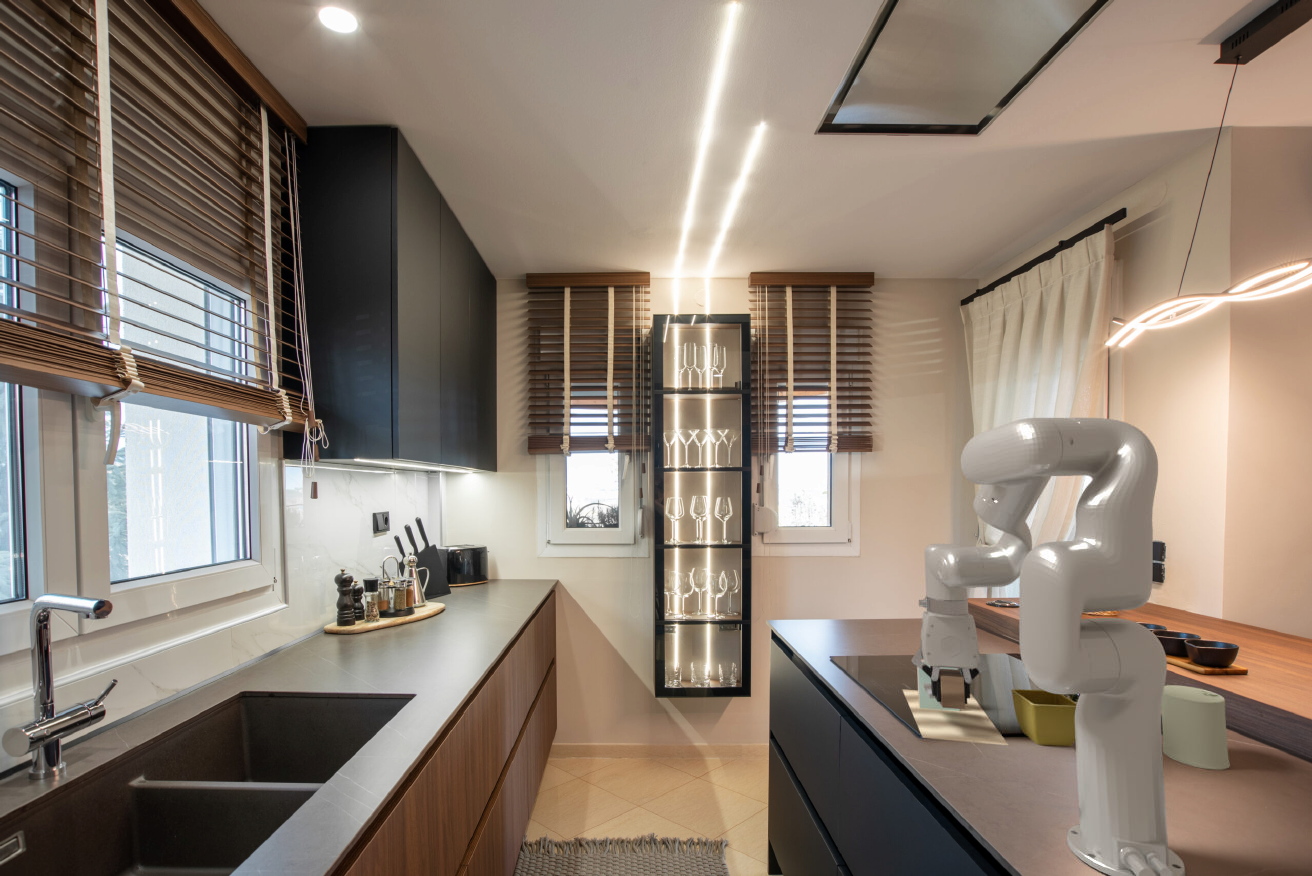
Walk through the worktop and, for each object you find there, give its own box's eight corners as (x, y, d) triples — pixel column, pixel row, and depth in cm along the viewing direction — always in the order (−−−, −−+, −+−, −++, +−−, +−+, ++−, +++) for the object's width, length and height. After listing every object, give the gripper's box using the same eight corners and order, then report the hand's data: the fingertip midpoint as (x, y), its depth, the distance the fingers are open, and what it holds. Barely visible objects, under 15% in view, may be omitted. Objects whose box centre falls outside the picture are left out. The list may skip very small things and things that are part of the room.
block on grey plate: (973, 709, 118) (972, 678, 118) (934, 706, 120) (933, 675, 120) (959, 689, 130) (957, 660, 130) (923, 686, 131) (922, 658, 132)
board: (1009, 751, 115) (1008, 745, 115) (922, 743, 118) (922, 737, 119) (971, 699, 142) (971, 694, 142) (902, 694, 146) (902, 689, 146)
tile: (959, 711, 132) (957, 663, 132) (919, 707, 134) (918, 661, 134) (958, 708, 133) (956, 661, 134) (918, 705, 135) (916, 659, 136)
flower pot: (1059, 736, 122) (1056, 689, 122) (1085, 756, 113) (1082, 705, 113) (1012, 734, 122) (1010, 688, 123) (1034, 754, 114) (1032, 704, 114)
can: (1243, 772, 106) (1238, 701, 107) (1182, 767, 108) (1178, 697, 109) (1207, 749, 115) (1203, 683, 116) (1151, 745, 117) (1147, 681, 118)
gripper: (905, 608, 121) (908, 704, 120) (998, 612, 117) (1003, 711, 116) (899, 601, 128) (903, 691, 127) (987, 604, 124) (992, 697, 123)
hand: (950, 699), depth 121 cm, fingers closed on block on grey plate, 4 cm apart
